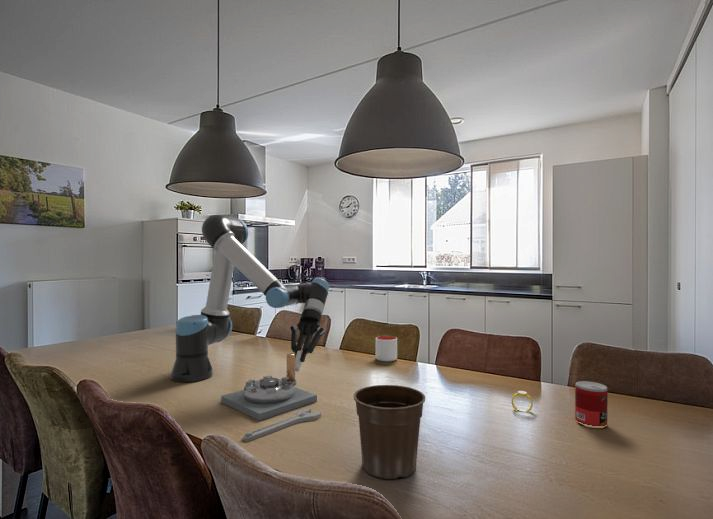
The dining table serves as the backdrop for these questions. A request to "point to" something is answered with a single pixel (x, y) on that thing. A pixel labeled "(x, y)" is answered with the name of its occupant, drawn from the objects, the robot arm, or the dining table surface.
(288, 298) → the robot arm
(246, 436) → the adjustable wrench
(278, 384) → the metal rotary base
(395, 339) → the cup
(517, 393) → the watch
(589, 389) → the canned food
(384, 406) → the plant pot
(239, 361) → the dining table surface
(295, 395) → the base plate
